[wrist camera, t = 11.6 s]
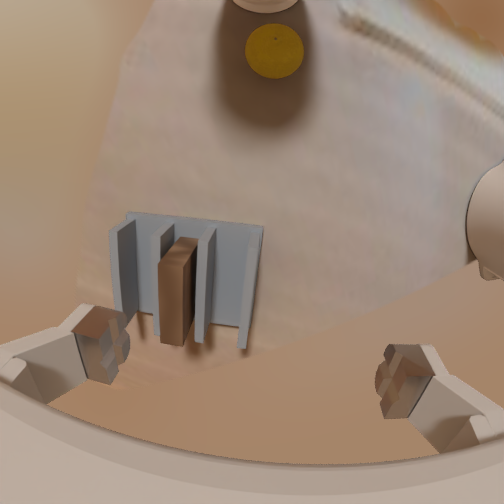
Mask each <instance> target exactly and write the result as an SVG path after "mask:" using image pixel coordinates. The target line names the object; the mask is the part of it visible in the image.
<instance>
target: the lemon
mask: <svg viewBox="0 0 504 504" xmlns="http://www.w3.org/2000/svg"><path fill="white" fill-rule="evenodd" d="M245 57H246V59H247V62H248V64H249V65H250V67H251V68H252V69H253V70H254V71H255V72H256V73H257V74H259V75H261V76H263V77H267V78H271V79H279V78H283V77H286V76H288V75H291V74H292V73H293V72H295V71H296V70H297V69H298V67H299V66H300V65H301V63H302V60H303V57H304V47H303V43H302V40H301V39H300V37H299V35H298V34H297V33H296V32H295V31H294V30H293V29H291V28H290V27H288V26H285V25H282V24H277V23H271V24H266V25H262V26H260V27H259V28H257V29H255V30H254V31H253V32H252V33H251V34H250V36H249V38H248V40H247V41H246V46H245Z"/></svg>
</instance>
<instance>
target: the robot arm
mask: <svg viewBox="0 0 504 504" xmlns="http://www.w3.org/2000/svg"><path fill="white" fill-rule="evenodd" d="M467 235H468V241H469V244H470V247H471V249H472V251H473V253H474V255H475V256H476V258H477V260H478V262H479V269H480V274H481V277H482V278H483V279H485V280H494V279H502V280H503V281H504V160H503V162H502V163H501V164H500V165H498V166H496V167H494V168H492V169H491V170H489V171H488V172H487V173H486V174H485V175H484V176H483V177H482V178H481V180H480V181H479V183H478V184H477V186H476V188H475V190H474V192H473V195H472V198H471V201H470V204H469V208H468V214H467ZM127 324H128V323H127V317H126V314H125V313H124V312H121V311H117V310H113V309H109V308H105V307H101V306H96V305H92V304H88V303H82V304H81V305H80V306H79V307H78V308H77V309H76V310H75V311H74V312H73V313H72V314H71V315H70V316H69V317H68V318H67V319H66V320H65V321H64V322H63V323H62V324H61V325H60V326H59V327H58V328H55V327H52V328H49V329H46V330H43V331H40V332H37V333H35V334H32V335H29V336H25V337H23V338H20V339H17V340H14V341H11V342H8V343H5V344H2V345H0V504H504V409H503V408H502V407H500V406H499V405H497V404H496V403H494V402H493V401H491V400H490V399H488V398H487V397H485V396H484V395H482V394H481V393H479V392H478V391H476V390H475V389H473V388H472V387H470V386H469V385H467V384H466V383H464V382H462V381H461V380H460V379H459V378H457V377H455V376H454V375H449V373H448V371H447V370H446V368H445V366H444V364H443V362H442V360H441V359H440V357H439V355H438V354H437V352H436V350H435V348H434V347H433V346H432V345H431V344H416V345H407V344H406V345H404V344H389V345H388V346H387V348H386V349H385V352H384V357H385V361H384V362H382V363H381V364H380V365H379V366H378V369H377V372H376V377H375V388H376V392H377V394H378V395H380V396H381V397H382V400H381V402H380V406H381V410H382V413H383V416H384V419H396V418H397V419H398V418H408V420H409V421H410V422H411V423H412V425H413V426H414V427H415V428H416V429H417V430H418V431H419V432H420V433H421V434H422V435H423V436H424V437H425V438H426V439H427V440H428V441H429V442H430V443H431V445H432V446H433V447H434V448H435V449H436V450H437V451H438V452H439V453H440V454H436V455H431V456H425V457H418V458H411V459H404V460H395V461H385V462H374V463H360V464H289V463H273V462H261V461H252V460H243V459H235V458H228V457H221V456H215V455H209V454H203V453H198V452H192V451H188V450H183V449H178V448H174V447H169V446H165V445H161V444H157V443H153V442H150V441H146V440H142V439H139V438H135V437H132V436H128V435H125V434H122V433H118V432H116V431H112V430H109V429H106V428H104V427H101V426H98V425H95V424H92V423H90V422H87V421H84V420H81V419H79V418H77V417H74V416H72V415H69V414H67V413H64V412H62V411H59V410H57V409H55V408H52V407H50V406H48V405H46V404H48V403H50V402H51V401H53V400H55V399H56V398H58V397H60V396H61V395H63V394H65V393H67V392H68V391H70V390H71V389H73V388H75V387H76V386H78V385H80V384H82V383H83V382H85V381H87V379H90V380H94V381H97V382H101V383H104V384H108V385H111V383H112V382H113V380H114V378H115V377H116V375H117V374H118V372H119V370H118V365H120V364H122V363H124V362H125V360H126V359H127V357H128V354H129V350H130V336H129V334H128V333H127V331H126V330H125V329H124V328H125V327H126V325H127Z"/></svg>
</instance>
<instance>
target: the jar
mask: <svg viewBox="0 0 504 504" xmlns="http://www.w3.org/2000/svg"><path fill="white" fill-rule="evenodd" d="M233 1H234V2H235V3H236V4H237V5H238V6H240V7H242V8H244V9H246V10H249V11H252V12H257V13H274V12H279V11H283V10H285V9H287V8H289V7H291V6H292V5H294V4H295V3H296V2H297V1H298V0H233Z"/></svg>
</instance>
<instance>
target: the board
mask: <svg viewBox="0 0 504 504" xmlns="http://www.w3.org/2000/svg"><path fill="white" fill-rule="evenodd" d="M198 240H199V239H197V238H189V237H179V239H178V240H177V241H176V242H175V243H174V245H173V246H172V247H171V248H170V249H169V251H168V252H167V253H166V254H165V255H164V257H163V258H162V259H161V260H160V262H159V263H158V302H159V324H160V341H161V343H164V344H170V345H175V346H181V347H183V345H184V342H185V340H186V337H187V334H188V332H189V329H190V326H191V324H192V321H193V319H194V316H195V300H196V272H197V250H198Z"/></svg>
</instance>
